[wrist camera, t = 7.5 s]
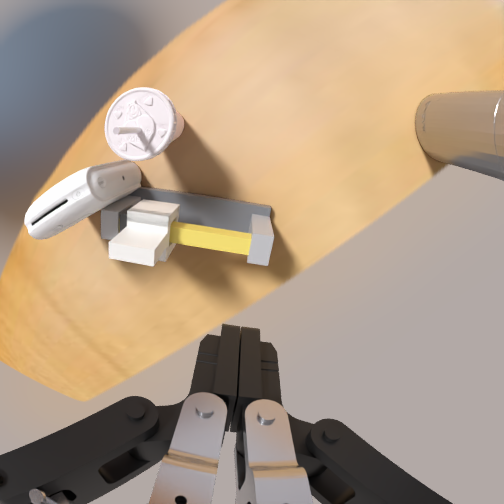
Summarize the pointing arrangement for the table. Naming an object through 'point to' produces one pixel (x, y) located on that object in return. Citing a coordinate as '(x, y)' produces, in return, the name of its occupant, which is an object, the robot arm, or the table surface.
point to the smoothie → (142, 124)
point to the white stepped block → (146, 233)
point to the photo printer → (81, 197)
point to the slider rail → (203, 222)
